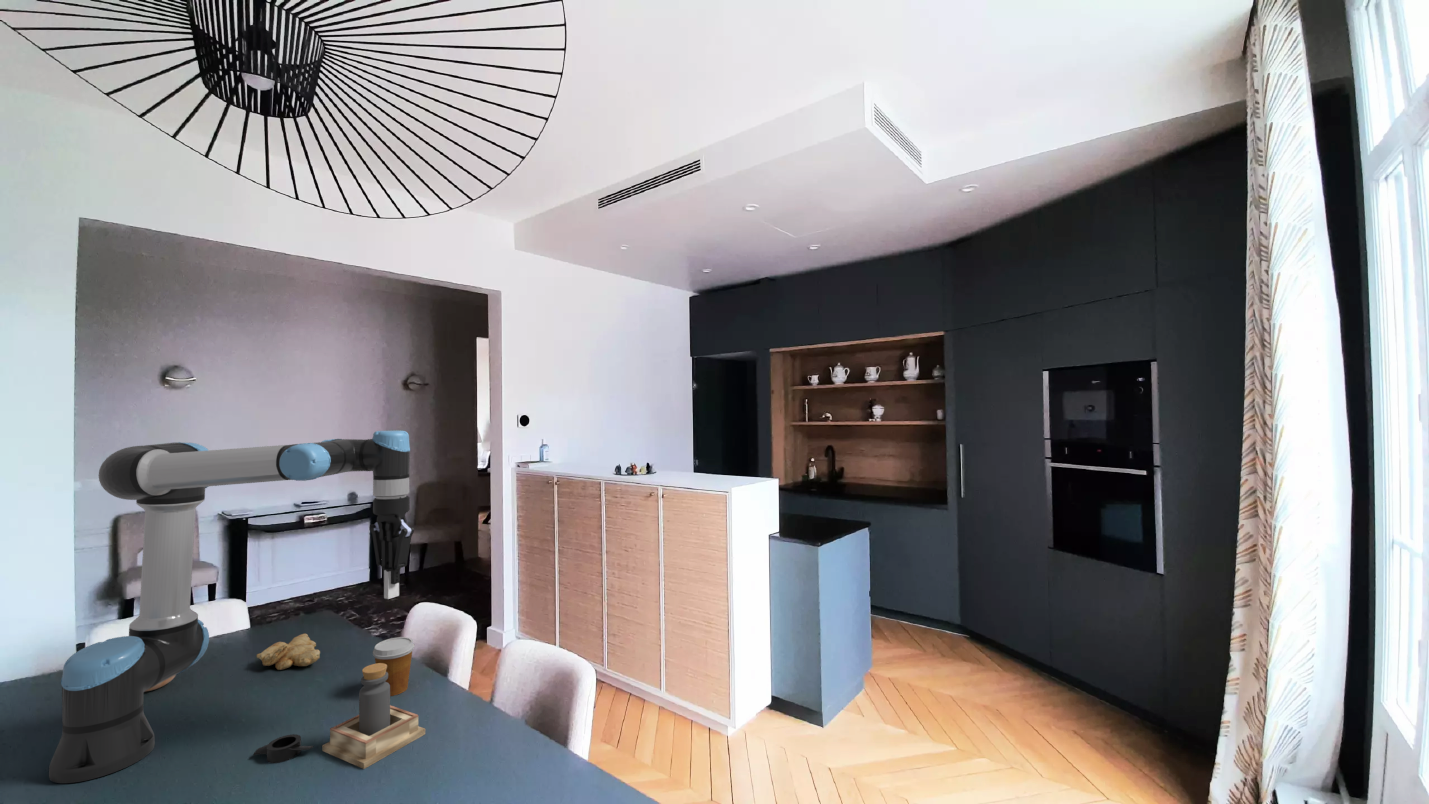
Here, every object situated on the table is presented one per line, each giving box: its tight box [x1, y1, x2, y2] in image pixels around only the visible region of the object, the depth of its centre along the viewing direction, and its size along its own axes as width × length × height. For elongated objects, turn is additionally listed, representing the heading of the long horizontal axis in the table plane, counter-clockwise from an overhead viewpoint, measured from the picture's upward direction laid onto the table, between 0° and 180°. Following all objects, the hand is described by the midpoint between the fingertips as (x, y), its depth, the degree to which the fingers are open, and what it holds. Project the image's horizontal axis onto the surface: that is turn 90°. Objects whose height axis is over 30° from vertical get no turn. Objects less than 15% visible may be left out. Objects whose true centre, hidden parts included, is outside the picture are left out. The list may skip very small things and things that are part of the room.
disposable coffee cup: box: [372, 636, 415, 697], centre depth 151 cm, size 10×10×12 cm
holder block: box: [321, 704, 426, 770], centre depth 128 cm, size 14×14×4 cm
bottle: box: [358, 663, 391, 736], centre depth 128 cm, size 6×6×15 cm
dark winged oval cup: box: [252, 733, 315, 764], centre depth 124 cm, size 8×10×3 cm
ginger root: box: [256, 633, 321, 671], centre depth 167 cm, size 16×16×8 cm
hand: (391, 596), depth 138 cm, fingers closed
